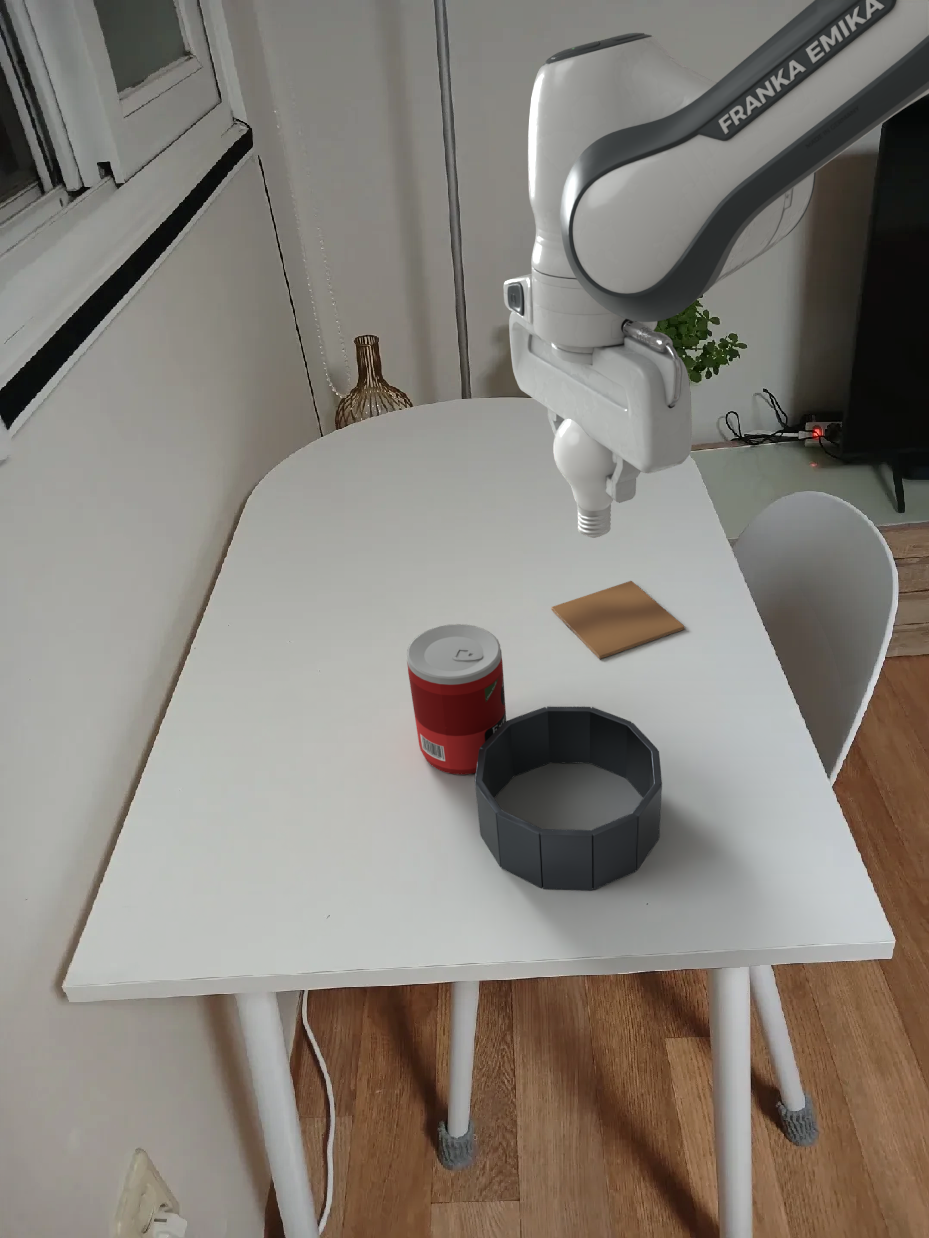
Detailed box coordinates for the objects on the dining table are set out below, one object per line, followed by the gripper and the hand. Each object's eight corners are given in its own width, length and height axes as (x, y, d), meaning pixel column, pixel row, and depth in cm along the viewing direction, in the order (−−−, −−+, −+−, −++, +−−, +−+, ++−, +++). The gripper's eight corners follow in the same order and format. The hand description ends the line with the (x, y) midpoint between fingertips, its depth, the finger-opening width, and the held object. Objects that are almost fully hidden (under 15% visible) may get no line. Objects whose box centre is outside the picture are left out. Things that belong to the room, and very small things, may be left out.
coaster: (684, 629, 97) (684, 626, 97) (599, 659, 94) (599, 656, 94) (631, 583, 105) (631, 580, 105) (551, 609, 102) (551, 606, 102)
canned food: (508, 775, 82) (501, 676, 76) (416, 779, 83) (402, 680, 76) (507, 717, 88) (501, 620, 82) (422, 720, 89) (409, 624, 83)
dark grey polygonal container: (693, 846, 74) (698, 792, 71) (531, 917, 70) (528, 862, 66) (599, 738, 85) (599, 686, 82) (454, 794, 81) (448, 741, 77)
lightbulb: (628, 514, 81) (631, 390, 75) (637, 553, 76) (642, 424, 69) (553, 518, 81) (550, 396, 75) (557, 557, 76) (554, 429, 70)
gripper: (722, 333, 61) (707, 522, 69) (563, 264, 76) (565, 425, 84) (638, 354, 59) (633, 546, 67) (492, 279, 74) (502, 442, 82)
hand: (594, 478), depth 76 cm, fingers closed on lightbulb, 6 cm apart
